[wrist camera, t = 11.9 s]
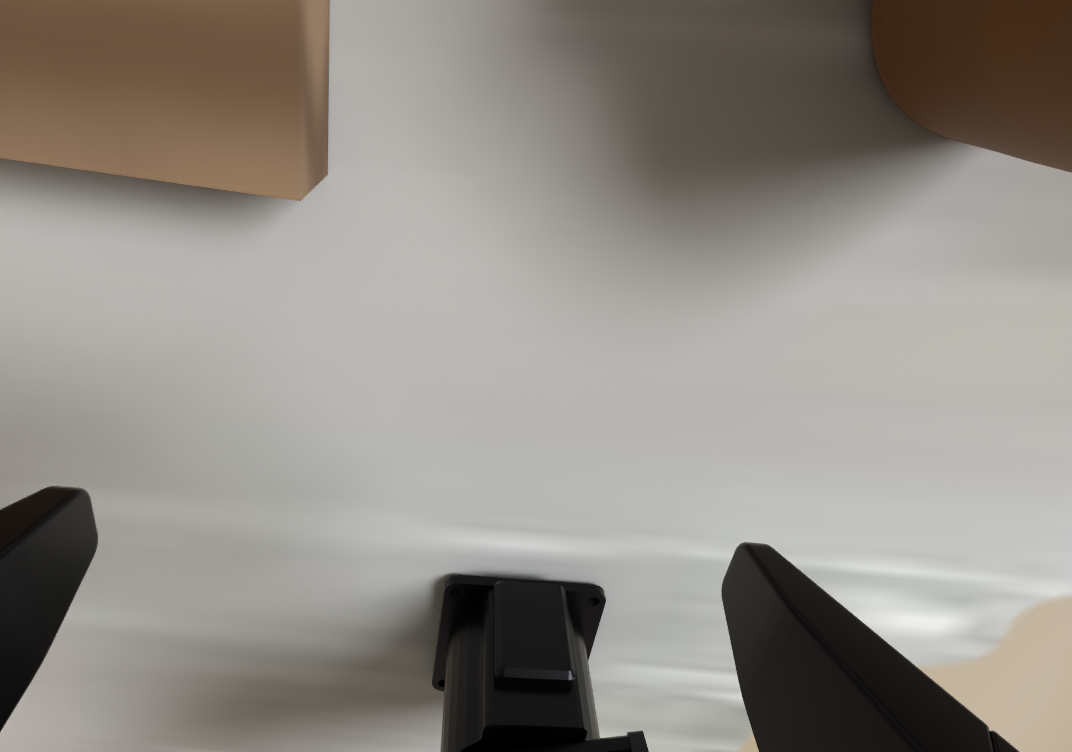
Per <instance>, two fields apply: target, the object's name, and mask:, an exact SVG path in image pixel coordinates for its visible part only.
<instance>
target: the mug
mask: <svg viewBox="0 0 1072 752" xmlns="http://www.w3.org/2000/svg"><path fill="white" fill-rule="evenodd" d="M871 27H872V45H873V50H874V56H875V62H876V65H877V68H878V71H879V74H880V77H881V80H882V82H883V84H884V86H885V88H886V90H887V91H888V93H889V95H890V96H891V97H892V99H893V100H894V102H895V103H896V104H897V106H898V107H899V108H900V109H901V110H902V111H903V112H904V113H906V114H907V115H908V116H909V117H910V118H911V119H913V120H914V121H915V122H917V123H918V124H920V125H921V126H923V127H924V128H926V129H928V130H930V131H932V132H934V133H937V134H939V135H941V136H944V137H946V138H949V139H952V140H955V141H959V142H962V143H966V144H970V145H974V146H978V147H981V148H985V149H989V150H992V151H996V152H999V153H1003V154H1006V155H1009V156H1013V157H1016V158H1019V159H1023V160H1027V161H1030V162H1034V163H1038V164H1041V165H1045V166H1049V167H1053V168H1057V169H1060V170H1064V171H1068V172H1072V0H873V7H872V21H871Z"/></svg>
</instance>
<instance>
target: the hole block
mask: <svg viewBox="0 0 1072 752" xmlns="http://www.w3.org/2000/svg"><path fill="white" fill-rule="evenodd" d="M329 6H330V0H0V158H3V159H10V160H17V161H24V162H31V163H38V164H45V165H52V166H59V167H66V168H73V169H80V170H87V171H94V172H101V173H108V174H115V175H122V176H129V177H136V178H143V179H150V180H157V181H164V182H171V183H178V184H185V185H192V186H199V187H206V188H213V189H220V190H227V191H234V192H241V193H249V194H256V195H263V196H270V197H277V198H284V199H291V200H298V201H301V200H302V199H303V198H304V197H305V196H306V195H307V194H308V193H309V192H310V191H311V190H312V189H313V188H314V187H315V186H316V185H317V184H318V183H319V182H320V181H322V180H323V179H324V178H325V177H326V176H327V175H328V92H329Z"/></svg>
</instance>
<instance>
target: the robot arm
mask: <svg viewBox="0 0 1072 752" xmlns="http://www.w3.org/2000/svg"><path fill="white" fill-rule="evenodd" d="M97 544H98V533H97V528H96V523H95V518H94V513H93V509H92V504H91V499H90V496H89V494H88V492H87V491H86V490H84V489H82V488H74V487H62V486H50V487H47V488H44V489H42V490H40V491H38V492H36V493H34V494H32V495H30V496H28V497H25V498H23V499H21V500H19V501H17V502H15V503H13V504H11V505H9V506H7V507H5V508H3V509H1V510H0V732H1V730H2V728H3V727H4V725H5V723H6V722H7V720H8V719H9V717H10V715H11V714H12V712H13V710H14V709H15V707H16V706H17V704H18V702H19V701H20V699H21V697H22V696H23V694H24V693H25V691H26V689H27V688H28V686H29V684H30V683H31V681H32V679H33V678H34V676H35V674H36V673H37V671H38V669H39V667H40V666H41V664H42V662H43V660H44V658H45V656H46V654H47V653H48V651H49V649H50V647H51V645H52V643H53V641H54V638H55V636H56V634H57V632H58V630H59V628H60V626H61V624H62V622H63V620H64V618H65V615H66V613H67V611H68V609H69V607H70V605H71V603H72V601H73V599H74V597H75V594H76V592H77V590H78V588H79V586H80V584H81V582H82V580H83V578H84V576H85V574H86V571H87V569H88V567H89V565H90V563H91V561H92V559H93V557H94V554H95V552H96V549H97ZM454 588H461V589H454ZM591 597H595V598H591ZM722 601H723V605H724V610H725V615H726V620H727V625H728V630H729V635H730V640H731V645H732V650H733V655H734V660H735V665H736V670H737V675H738V680H739V684H740V689H741V693H742V697H743V701H744V704H745V708H746V711H747V715H748V718H749V721H750V724H751V727H752V731H753V734H754V737H755V740H756V743H757V747H758V750H759V752H1019V751H1018V750H1017V749H1016V748H1014V747H1013V746H1012V745H1011V744H1010V743H1008V742H1007V741H1006V740H1005V739H1004V738H1002V737H1001V736H1000V735H999V734H997V733H996V732H995V731H989V728H988V726H987V725H986V724H985V723H984V722H983V721H982V720H980V719H979V718H978V717H977V716H975V715H974V714H973V713H972V712H971V711H969V710H968V709H967V708H966V707H965V706H963V705H962V704H961V703H959V702H958V701H957V700H956V699H955V698H954V697H952V696H951V695H950V694H949V693H948V692H946V691H945V690H944V689H943V688H942V687H940V686H939V685H938V684H936V683H935V682H934V681H933V680H932V679H930V678H929V677H928V676H927V675H926V674H925V673H923V672H922V671H921V670H920V669H919V668H917V667H916V666H915V665H914V664H912V663H911V662H910V661H909V660H908V659H906V658H905V657H904V656H903V655H902V654H900V653H899V652H898V651H897V650H896V649H894V648H893V647H892V646H891V645H889V644H888V643H887V642H886V641H885V640H883V639H882V638H881V637H880V636H879V635H877V634H876V633H875V632H874V631H873V630H871V629H870V628H869V627H868V626H866V625H865V624H864V623H863V622H862V621H860V620H859V619H858V618H857V617H856V616H854V615H853V614H852V613H851V612H850V611H848V610H847V609H846V608H845V607H843V606H842V605H841V604H840V603H839V602H837V601H836V600H835V599H834V598H833V597H831V596H830V595H829V594H828V593H827V592H825V591H824V590H823V589H822V588H820V587H819V586H818V585H817V584H816V583H814V582H813V581H812V580H811V579H810V578H808V577H807V576H806V575H805V574H804V573H802V572H801V571H800V570H799V569H797V568H796V567H795V566H794V565H793V564H791V563H790V562H789V561H788V560H787V559H785V558H784V557H783V556H782V555H781V554H779V553H778V552H777V551H776V550H774V549H773V548H772V547H771V546H769V545H767V544H761V543H748V542H744V543H741V544H740V545H739V546H738V547H737V548H736V550H735V553H734V555H733V558H732V560H731V562H730V565H729V567H728V570H727V572H726V575H725V577H724V579H723V583H722ZM605 603H606V598H605V593H604V590H603V588H601V587H600V586H597V585H587V584H572V583H558V582H544V581H529V580H515V579H500V578H486V577H472V576H453V577H450V578H449V579H448V580H446V583H445V588H444V595H443V603H442V610H441V618H440V625H439V633H438V640H437V648H436V655H435V663H434V670H433V680H432V684H433V687H434V688H435V689H437V690H441V691H444V707H443V723H442V738H441V752H649V751H648V747H647V744H646V740H645V737H644V733H643V731H635V732H627V735H626V736H617V737H608V738H600V736H599V729H598V723H597V717H596V710H595V704H594V697H593V691H592V685H591V678H590V672H589V665H588V659H589V656H590V653H591V649H592V646H593V643H594V639H595V636H596V633H597V629H598V626H599V623H600V619H601V616H602V613H603V609H604V606H605Z"/></svg>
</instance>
